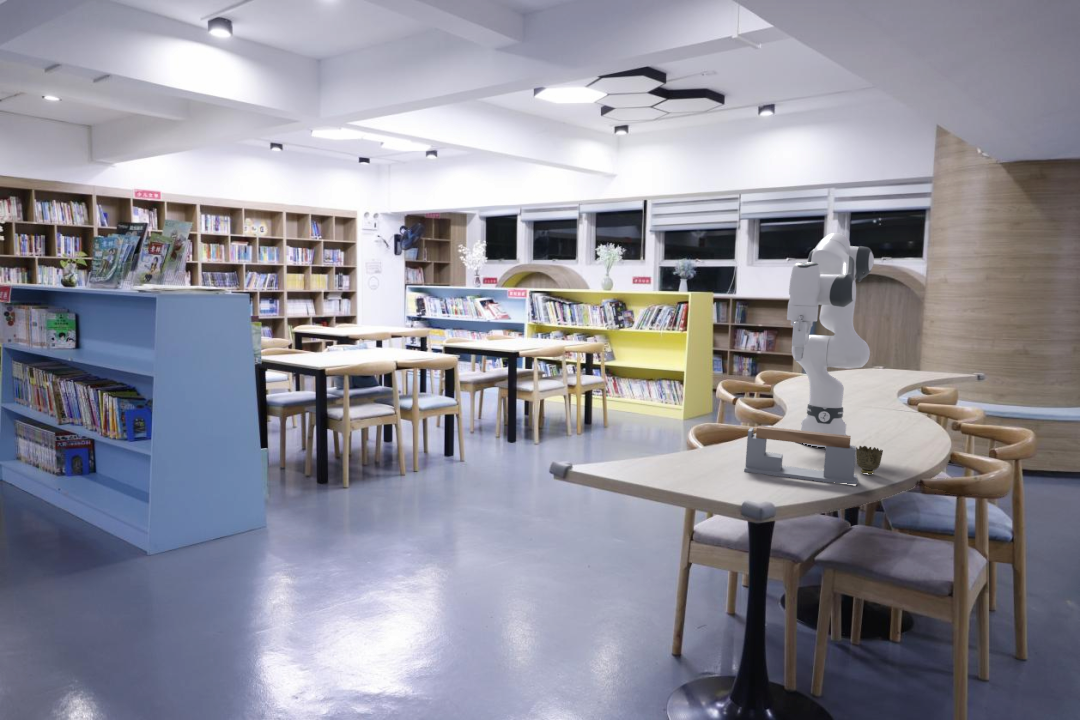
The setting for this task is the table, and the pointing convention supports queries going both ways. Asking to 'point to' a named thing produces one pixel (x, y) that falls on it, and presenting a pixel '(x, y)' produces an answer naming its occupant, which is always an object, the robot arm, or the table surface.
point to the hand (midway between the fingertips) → (798, 359)
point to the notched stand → (835, 468)
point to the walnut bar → (803, 436)
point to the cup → (868, 459)
